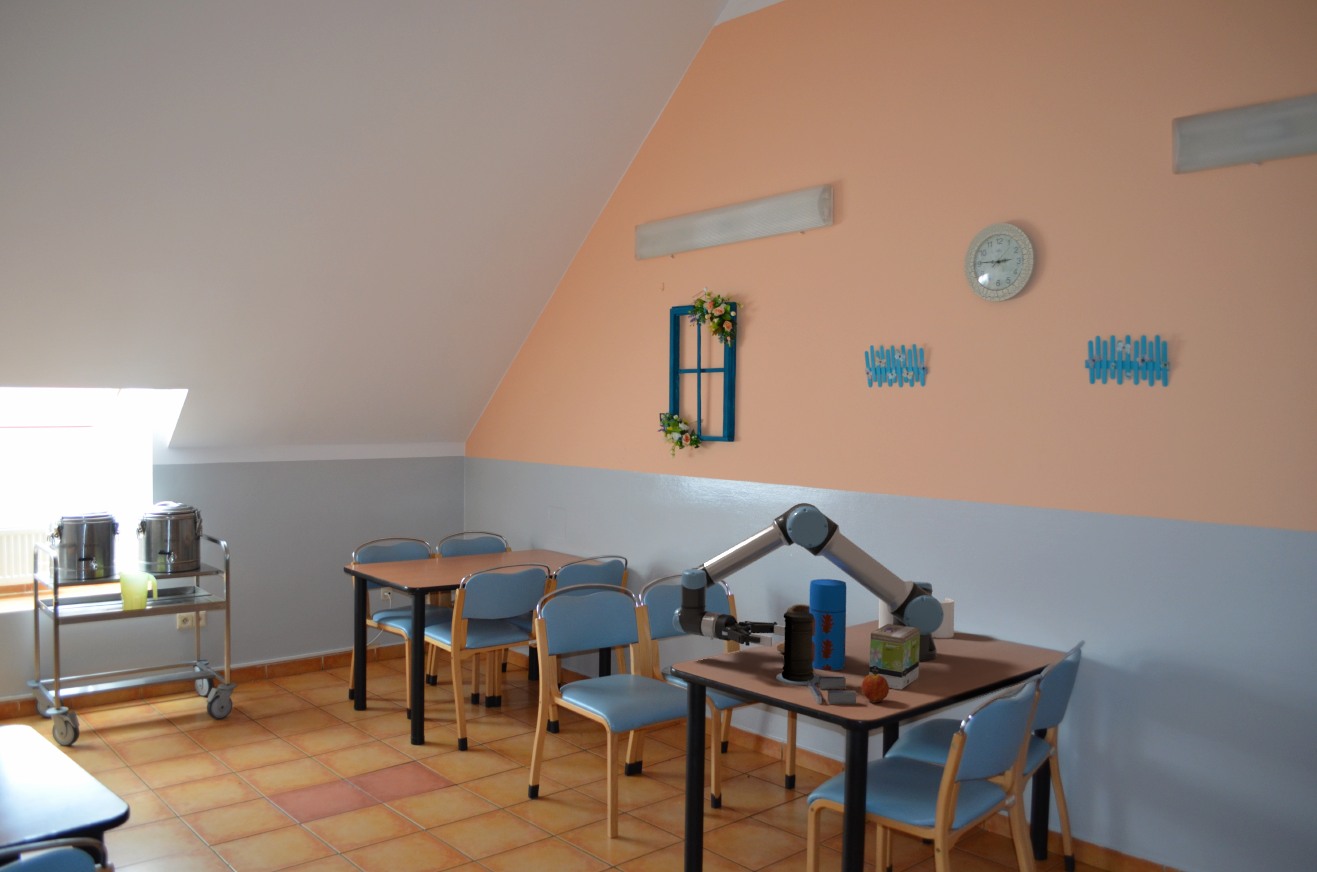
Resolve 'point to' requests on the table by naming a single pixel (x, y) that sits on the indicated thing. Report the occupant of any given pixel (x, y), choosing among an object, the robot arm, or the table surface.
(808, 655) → the container
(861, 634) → the table surface
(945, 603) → the bracket
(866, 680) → the fruit
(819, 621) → the thermos
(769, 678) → the table surface
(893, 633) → the tea box
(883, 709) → the table surface
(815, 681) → the mat
